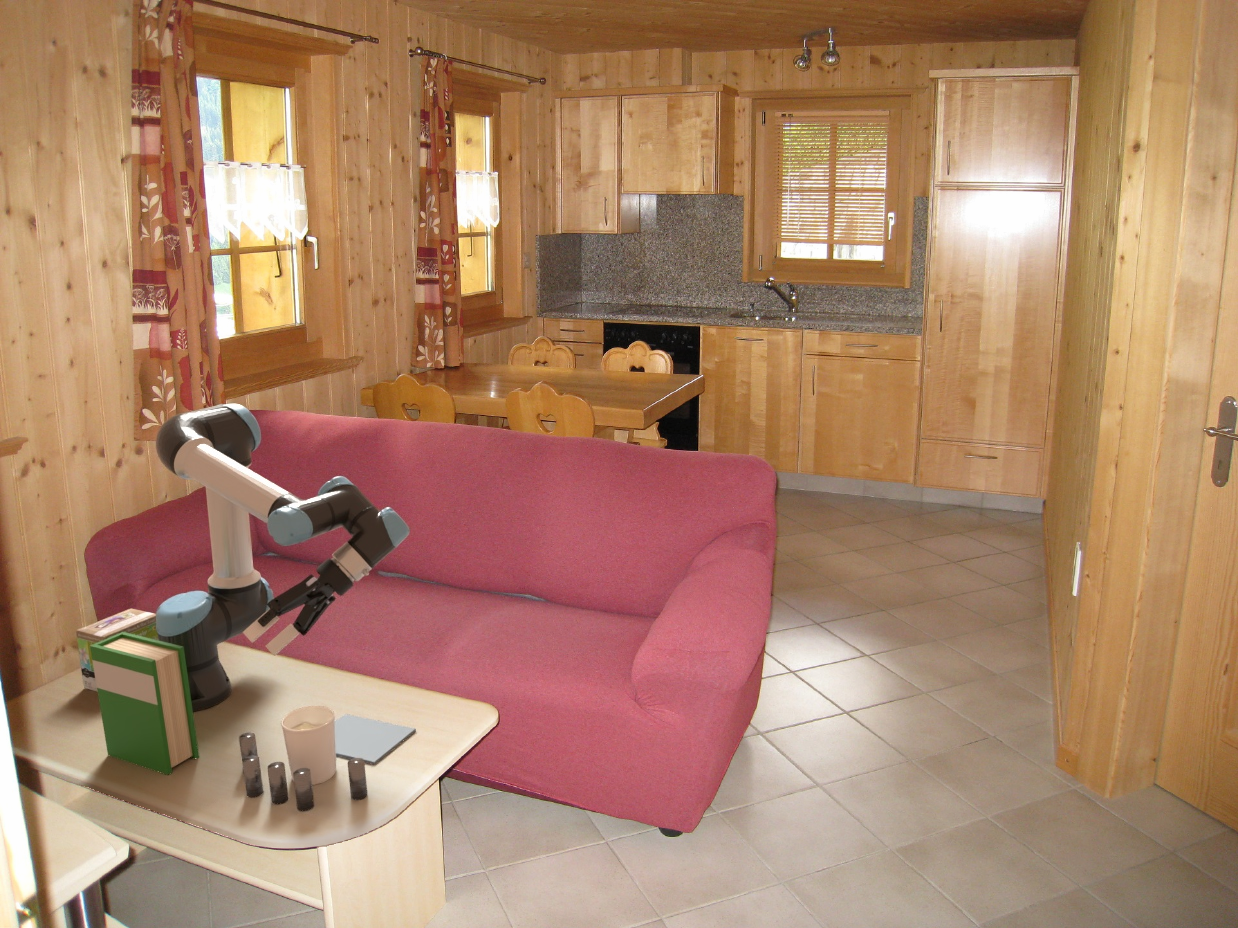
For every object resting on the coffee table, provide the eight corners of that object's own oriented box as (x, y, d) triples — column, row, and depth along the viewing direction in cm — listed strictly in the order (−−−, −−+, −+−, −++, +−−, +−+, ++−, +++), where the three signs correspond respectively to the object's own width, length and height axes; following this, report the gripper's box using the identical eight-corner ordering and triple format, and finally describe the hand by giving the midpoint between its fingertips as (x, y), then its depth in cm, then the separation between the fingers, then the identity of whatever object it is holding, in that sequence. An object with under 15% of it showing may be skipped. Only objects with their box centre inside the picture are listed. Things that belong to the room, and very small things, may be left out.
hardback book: (199, 756, 202) (183, 646, 196) (168, 775, 195) (151, 661, 189) (139, 738, 209) (123, 631, 204) (108, 755, 203) (89, 645, 197)
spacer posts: (214, 788, 190) (210, 754, 188) (250, 763, 199) (246, 731, 197) (337, 820, 179) (334, 785, 177) (370, 792, 187) (367, 759, 186)
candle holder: (294, 762, 199) (287, 707, 196) (344, 758, 199) (338, 703, 196) (282, 789, 189) (275, 732, 186) (335, 785, 190) (329, 728, 187)
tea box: (113, 696, 228) (103, 636, 225) (83, 688, 232) (73, 629, 229) (167, 669, 241) (159, 612, 238) (138, 662, 246) (129, 606, 242)
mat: (301, 747, 204) (301, 744, 204) (345, 716, 216) (345, 713, 216) (374, 764, 197) (374, 761, 197) (415, 731, 209) (415, 728, 209)
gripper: (339, 566, 190) (249, 645, 184) (368, 597, 213) (289, 668, 207) (314, 539, 192) (224, 617, 186) (345, 573, 215) (267, 643, 209)
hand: (258, 644), depth 197 cm, fingers open, 13 cm apart
